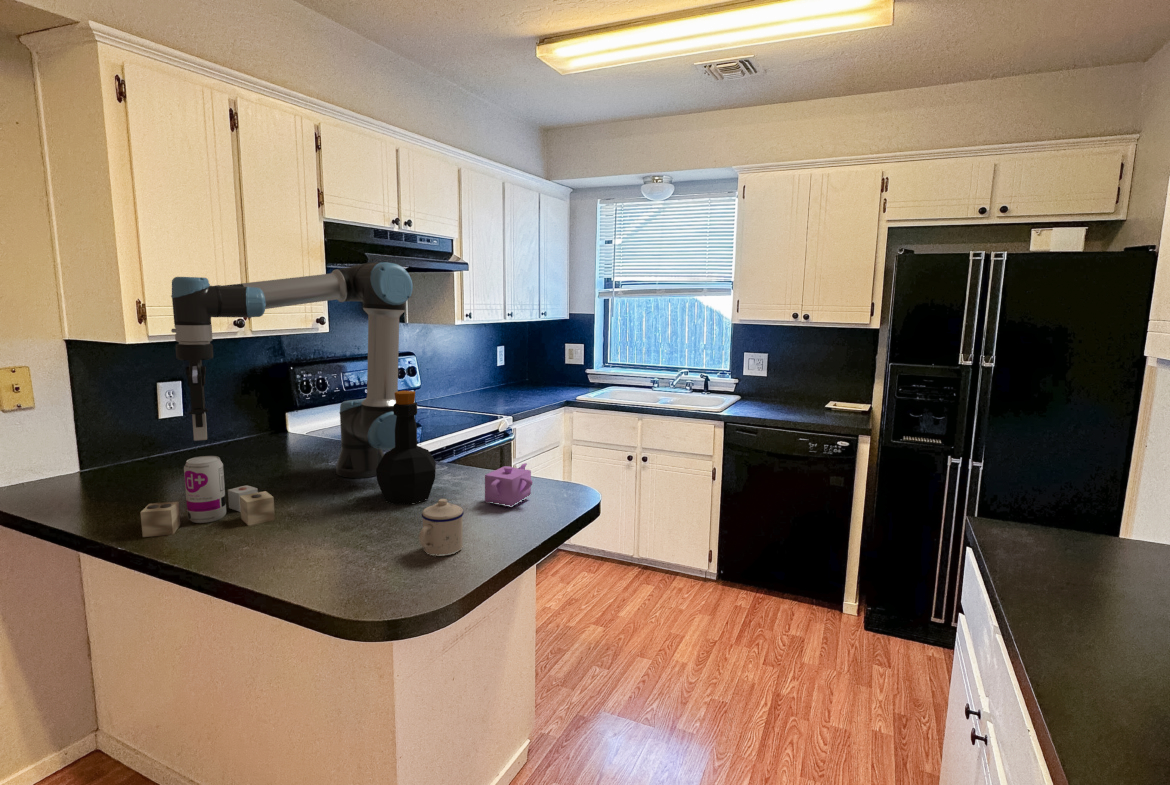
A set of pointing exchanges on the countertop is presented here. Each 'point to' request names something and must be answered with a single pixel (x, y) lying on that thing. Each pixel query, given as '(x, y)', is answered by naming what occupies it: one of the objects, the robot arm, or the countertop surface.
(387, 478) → the bottle
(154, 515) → the maple block
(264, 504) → the maple block
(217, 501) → the supplement can
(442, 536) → the teacup with lid
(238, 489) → the grey plastic block
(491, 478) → the teapot
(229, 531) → the countertop surface
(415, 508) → the countertop surface
